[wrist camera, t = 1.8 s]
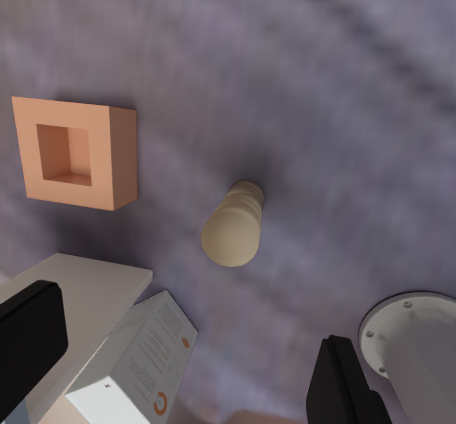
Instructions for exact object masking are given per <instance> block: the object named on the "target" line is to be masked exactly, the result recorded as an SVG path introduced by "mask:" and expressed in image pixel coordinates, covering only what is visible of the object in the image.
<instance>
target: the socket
mask: <svg viewBox="0 0 456 424" xmlns="http://www.w3.org/2000/svg"><path fill="white" fill-rule="evenodd" d="M12 102H13V109H14V115H15V122H16V128H17V135H18V141H19V147H20V154H21V160H22V167H23V173H24V180H25V186H26V193H27V198H33V199H40V200H46V201H53V202H59V203H66V204H72V205H78V206H85V207H91V208H98V209H104V210H111V211H114V210H116V209H118V208H120V207H122V206H124V205H126V204H128V203H130V202H132V201H134V200H136V199H138V188H137V111H136V110H130V109H123V108H117V107H111V106H102V105H92V104H82V103H72V102H62V101H52V100H43V99H33V98H23V97H13V96H12Z"/></svg>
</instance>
